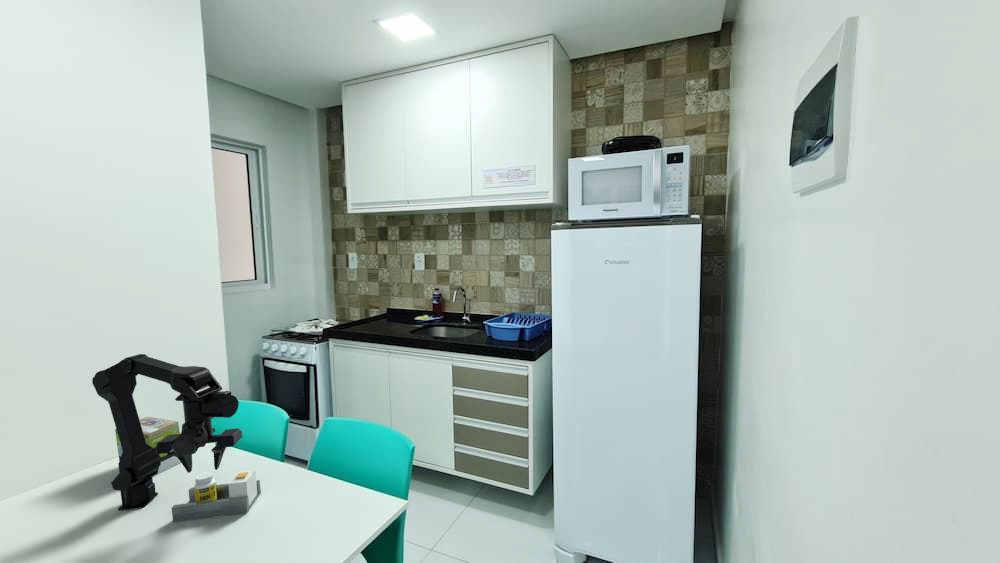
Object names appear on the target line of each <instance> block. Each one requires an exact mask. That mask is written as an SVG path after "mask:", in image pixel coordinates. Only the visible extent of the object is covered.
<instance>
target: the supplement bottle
mask: <svg viewBox="0 0 1000 563" xmlns="http://www.w3.org/2000/svg"><path fill="white" fill-rule="evenodd" d="M216 485H217V484H216V479H215V477H214V472H212V471H205V472H202V473H200V474H198V475H197V476H196V477H195V484H194V486H193V488H194V490H195V501H196V502H203V501H211V500H217V493H216Z"/></svg>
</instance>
